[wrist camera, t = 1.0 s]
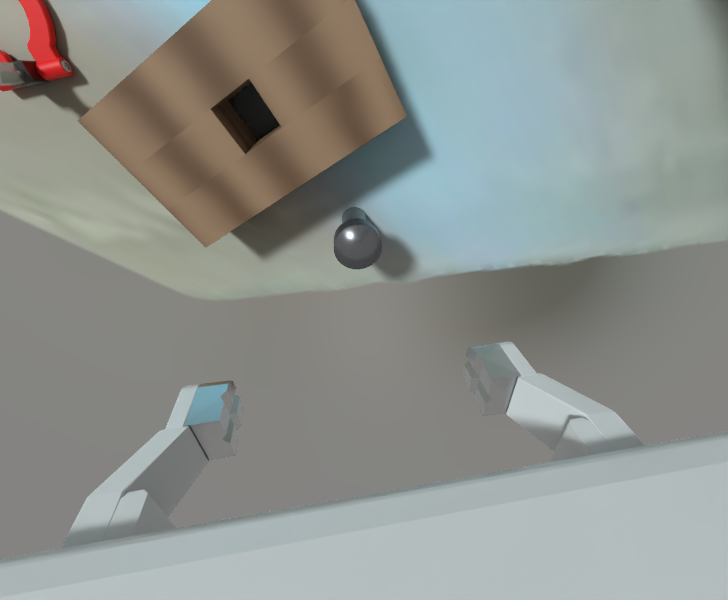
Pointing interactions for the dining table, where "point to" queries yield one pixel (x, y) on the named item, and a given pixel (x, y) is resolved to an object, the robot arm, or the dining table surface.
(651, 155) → the dining table surface
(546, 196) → the dining table surface
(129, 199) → the dining table surface
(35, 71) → the tow hook
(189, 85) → the hitch block
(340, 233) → the steel pin
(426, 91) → the dining table surface
